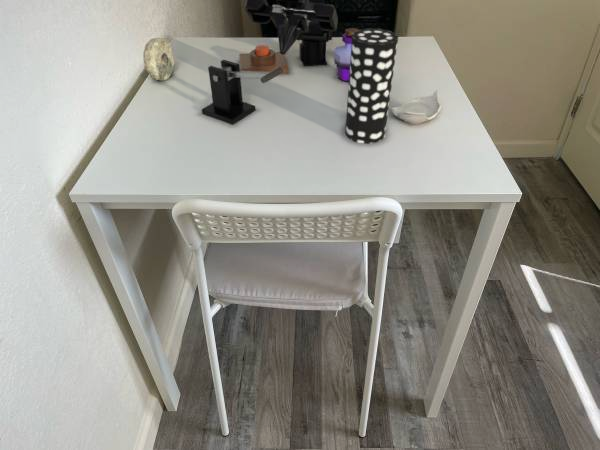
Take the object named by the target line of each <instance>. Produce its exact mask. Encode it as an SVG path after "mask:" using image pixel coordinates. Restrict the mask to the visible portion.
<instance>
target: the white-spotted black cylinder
mask: <svg viewBox="0 0 600 450" xmlns="http://www.w3.org/2000/svg"><path fill="white" fill-rule="evenodd" d="M398 42H399V36H398V34H396V33H395V32H393V31H390V30H388V29H382V28H363V29H358V31H356V32H354V33H353V35H352V46H351V60H350V74H349V82H348V88H347V89H348V90H347V102H346V116H345V129H344V130H345V131H344V134H345V136H346V137H347V139H349V140H350V141H352V142H355V143H358V144H367V145H368V144H375V143H379V142H381V141H383V140H384V138H385V136H386V131H387V124H388V123H387V122H388V115H389V107H390V101H391V94H392V86H393V78H394V72H395V64H396V56H397V50H398Z"/></svg>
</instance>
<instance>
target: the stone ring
mask: <svg viewBox="0 0 600 450" xmlns="http://www.w3.org/2000/svg"><path fill="white" fill-rule="evenodd" d="M143 64H144V68H145V70H146V72H147V73H148V75H149V76H150V77H151V78H152V79H154V80H156V81H159V82H160V81H162V82H163V81H166V80H167V81H168V80H169V79H170V77H171V76H172V74H173V70H174V68H175V58H174V55H173V48H172V45H171V43H170V41H169V39H167V38H164V37H155V38H151V39H150V40H149V41H147V42H146V43H145V46H144V50H143Z"/></svg>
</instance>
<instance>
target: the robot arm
mask: <svg viewBox="0 0 600 450" xmlns="http://www.w3.org/2000/svg"><path fill="white" fill-rule="evenodd" d="M275 2H276V4H272V5H269V3H268V1H267V0H245V3H244V7H243V8H244V11H245V12H246V14H247V16H248V17H249V19H250V20H251V22H252V23H254V24H261V25H268V24H269V23H270V22H271V21H272V23H273V25H274V27H275V28H276V30H277V37H278V48H279V51H280V53H281V55H284V56H285V55H286V54H287V53H288V51H289V50H290V49H291V48H292V46H293V45H294V44H295V42H296V41H301V42H300V43H299V45H298V46H299V50H298V51H299V56H298V57H299V60H300V62H301V63H302V65H303V67H312V66H327V65H328V61H327V43H329V41H332V40H333V32H336V31H337V28H338V24H339V17H338V14H337V10H336V7H335V6H334V5H333V4H332V3H331V4H330V3H325V0H275Z"/></svg>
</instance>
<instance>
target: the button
mask: <svg viewBox="0 0 600 450" xmlns="http://www.w3.org/2000/svg"><path fill="white" fill-rule="evenodd" d="M269 49H270V46H268V45H265V44H260V45H256V46H255V48H254V50H256V55H259V56H266V55H269Z"/></svg>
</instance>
